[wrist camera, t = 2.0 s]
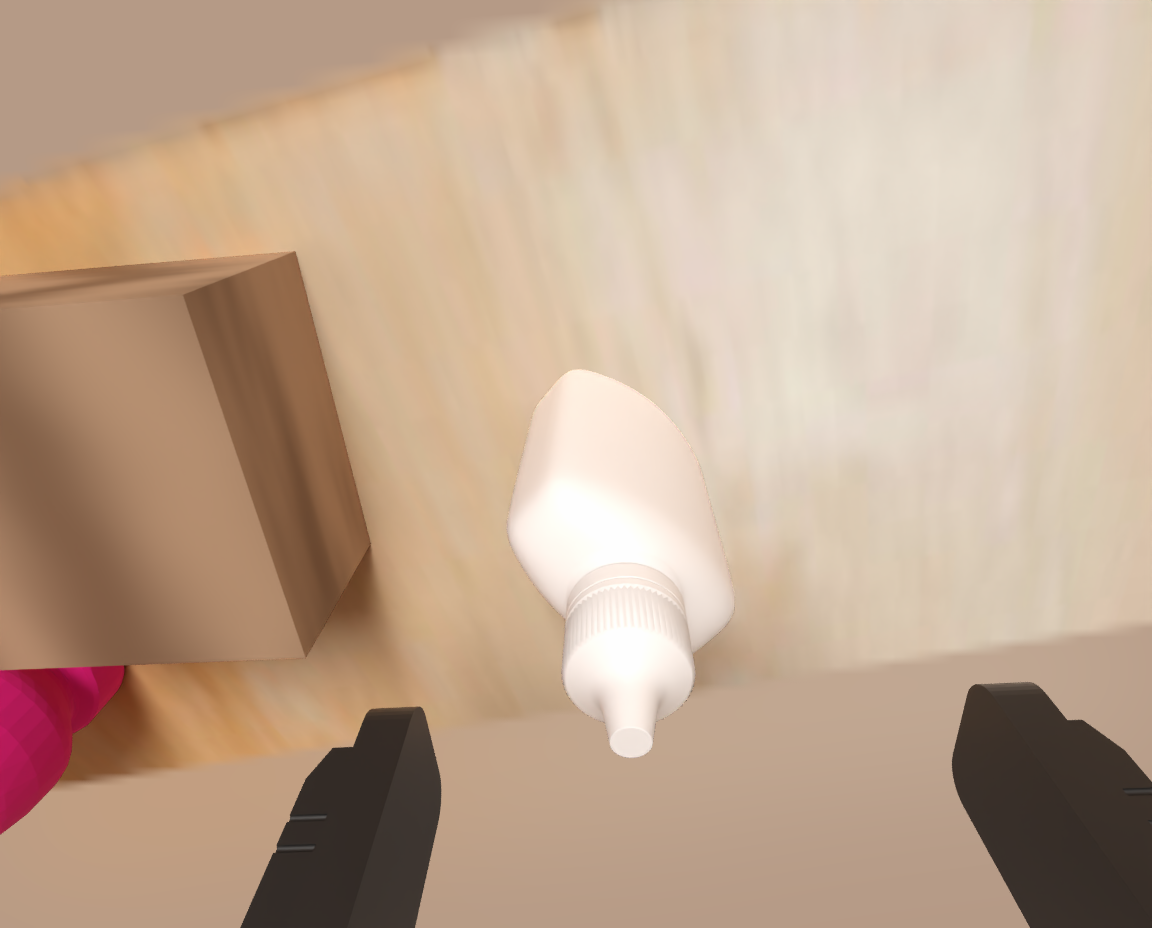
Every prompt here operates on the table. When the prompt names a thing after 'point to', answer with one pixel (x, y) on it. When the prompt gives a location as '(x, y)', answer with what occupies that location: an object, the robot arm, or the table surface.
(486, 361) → the table surface
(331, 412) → the walnut box
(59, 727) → the pepper mill
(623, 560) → the eye dropper bottle
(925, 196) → the table surface
